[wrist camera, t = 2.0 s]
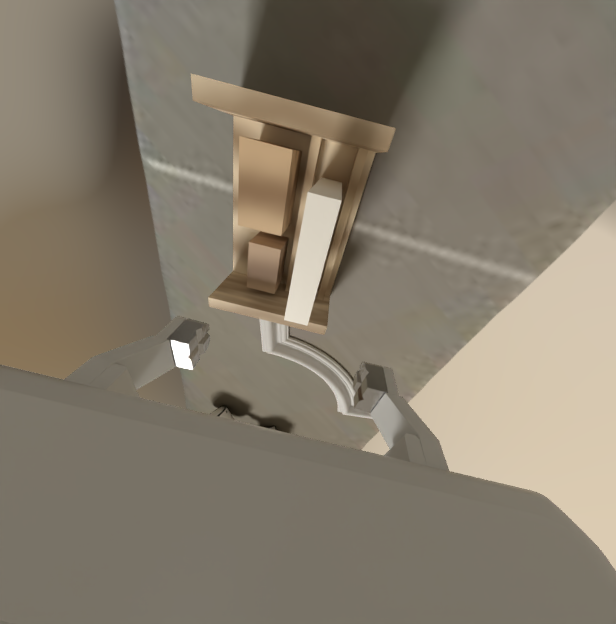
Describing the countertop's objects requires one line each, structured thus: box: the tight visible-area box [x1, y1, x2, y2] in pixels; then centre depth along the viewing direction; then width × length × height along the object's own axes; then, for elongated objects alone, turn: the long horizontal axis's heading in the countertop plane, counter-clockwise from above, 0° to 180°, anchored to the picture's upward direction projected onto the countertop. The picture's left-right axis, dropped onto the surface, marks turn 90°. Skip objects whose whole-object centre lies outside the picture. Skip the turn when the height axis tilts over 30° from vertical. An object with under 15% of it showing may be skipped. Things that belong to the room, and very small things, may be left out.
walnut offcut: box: [247, 231, 289, 294], centre depth 31 cm, size 6×4×5 cm, turn 168°
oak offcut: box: [238, 136, 302, 236], centre depth 25 cm, size 8×5×6 cm, turn 168°
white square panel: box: [284, 177, 342, 326], centre depth 24 cm, size 12×2×13 cm, turn 168°
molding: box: [260, 319, 373, 419], centre depth 48 cm, size 42×12×3 cm, turn 42°
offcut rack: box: [191, 74, 396, 335], centre depth 27 cm, size 22×16×10 cm
